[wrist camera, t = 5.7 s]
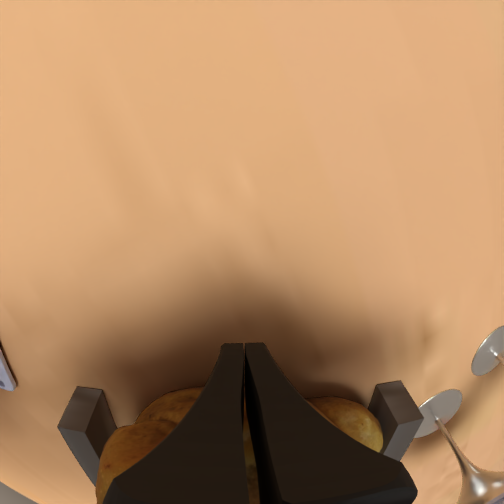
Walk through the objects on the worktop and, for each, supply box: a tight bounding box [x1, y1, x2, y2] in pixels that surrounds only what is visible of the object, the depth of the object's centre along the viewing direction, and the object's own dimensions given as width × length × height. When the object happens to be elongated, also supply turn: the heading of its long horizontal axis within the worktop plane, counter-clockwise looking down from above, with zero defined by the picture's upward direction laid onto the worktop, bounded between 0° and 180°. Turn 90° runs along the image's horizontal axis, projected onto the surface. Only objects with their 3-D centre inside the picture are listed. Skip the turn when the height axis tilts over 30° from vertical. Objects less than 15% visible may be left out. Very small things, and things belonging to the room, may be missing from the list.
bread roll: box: [96, 386, 383, 504], centre depth 11 cm, size 13×10×8 cm
